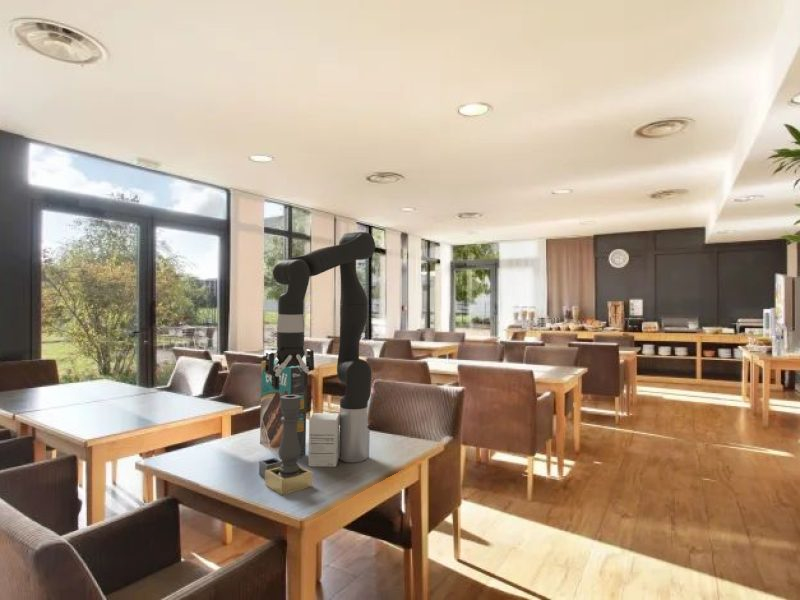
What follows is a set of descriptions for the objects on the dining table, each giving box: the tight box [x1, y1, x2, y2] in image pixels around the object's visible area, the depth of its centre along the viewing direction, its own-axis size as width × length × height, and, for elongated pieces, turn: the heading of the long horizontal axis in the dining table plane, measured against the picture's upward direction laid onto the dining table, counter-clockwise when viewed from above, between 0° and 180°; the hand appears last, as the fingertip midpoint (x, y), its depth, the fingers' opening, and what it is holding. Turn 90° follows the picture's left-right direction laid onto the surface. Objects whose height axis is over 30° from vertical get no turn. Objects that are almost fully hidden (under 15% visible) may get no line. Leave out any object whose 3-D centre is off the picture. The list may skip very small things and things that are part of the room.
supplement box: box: [308, 412, 340, 468], centre depth 154 cm, size 9×9×15 cm
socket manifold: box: [258, 457, 314, 496], centre depth 137 cm, size 10×18×4 cm, turn 43°
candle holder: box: [278, 395, 301, 478], centre depth 135 cm, size 6×6×25 cm
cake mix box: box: [259, 359, 308, 458], centre depth 167 cm, size 22×6×30 cm, turn 42°
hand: (290, 387), depth 134 cm, fingers open, 8 cm apart
